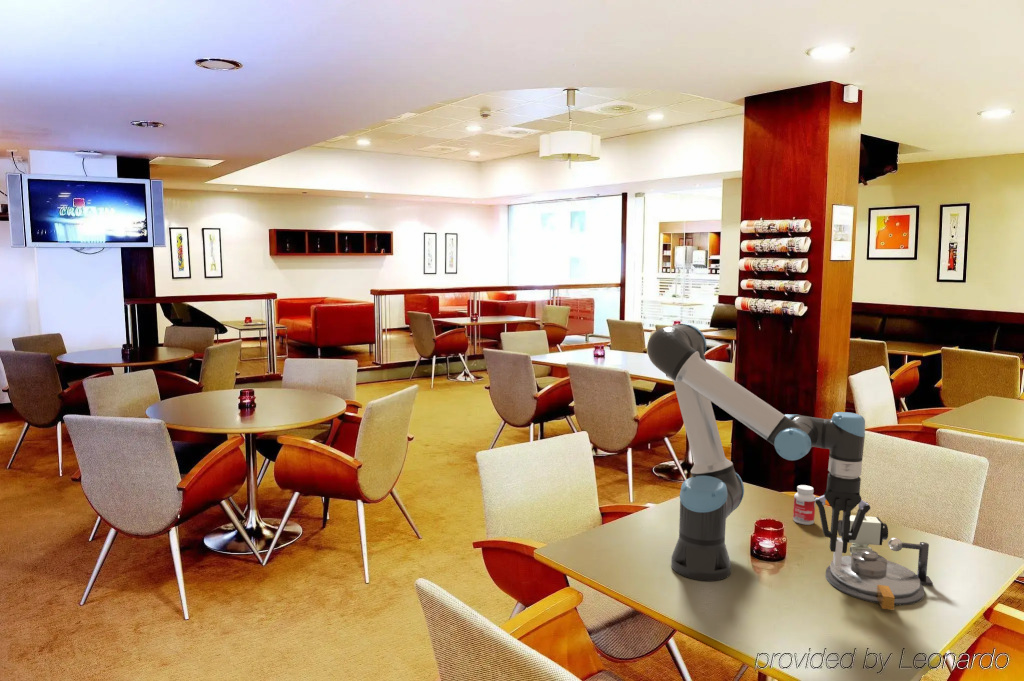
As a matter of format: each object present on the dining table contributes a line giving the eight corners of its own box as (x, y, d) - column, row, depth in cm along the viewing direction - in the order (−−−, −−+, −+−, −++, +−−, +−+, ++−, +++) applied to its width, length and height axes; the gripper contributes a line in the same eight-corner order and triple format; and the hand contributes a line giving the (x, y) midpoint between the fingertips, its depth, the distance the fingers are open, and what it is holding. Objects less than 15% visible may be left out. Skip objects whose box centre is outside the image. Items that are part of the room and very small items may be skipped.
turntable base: (832, 597, 167) (833, 592, 166) (819, 560, 188) (820, 555, 187) (935, 611, 160) (936, 606, 160) (910, 570, 181) (911, 566, 181)
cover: (853, 576, 171) (855, 556, 171) (848, 562, 179) (849, 544, 178) (889, 580, 169) (891, 561, 169) (882, 566, 177) (883, 548, 176)
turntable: (840, 602, 162) (841, 590, 162) (824, 558, 186) (825, 547, 186) (937, 615, 156) (938, 603, 156) (907, 568, 181) (908, 557, 180)
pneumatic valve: (886, 562, 186) (889, 519, 185) (839, 558, 189) (842, 516, 187) (879, 554, 192) (882, 512, 190) (834, 550, 194) (837, 509, 193)
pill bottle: (791, 523, 214) (793, 488, 213) (793, 516, 220) (795, 483, 218) (813, 526, 211) (815, 491, 210) (814, 520, 217) (817, 486, 215)
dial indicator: (887, 580, 176) (890, 540, 174) (884, 573, 180) (886, 534, 178) (932, 586, 173) (935, 545, 172) (927, 579, 177) (931, 539, 175)
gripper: (818, 476, 171) (811, 566, 174) (876, 481, 168) (868, 574, 171) (814, 467, 179) (807, 554, 181) (869, 472, 175) (861, 561, 178)
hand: (836, 563), depth 176 cm, fingers closed
